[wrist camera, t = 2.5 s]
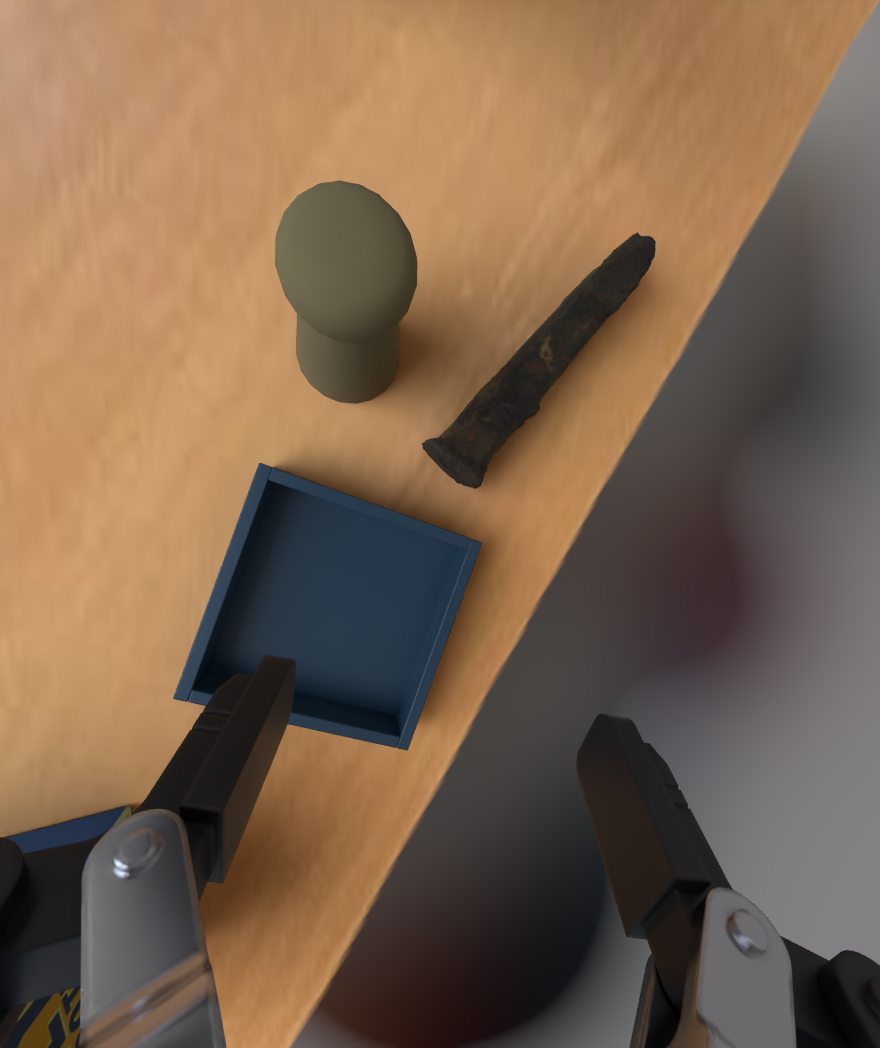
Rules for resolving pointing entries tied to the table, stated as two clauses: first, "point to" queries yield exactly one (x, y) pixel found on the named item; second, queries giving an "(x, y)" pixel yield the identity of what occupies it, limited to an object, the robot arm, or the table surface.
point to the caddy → (332, 607)
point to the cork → (346, 287)
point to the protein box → (54, 1021)
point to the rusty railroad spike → (538, 365)
